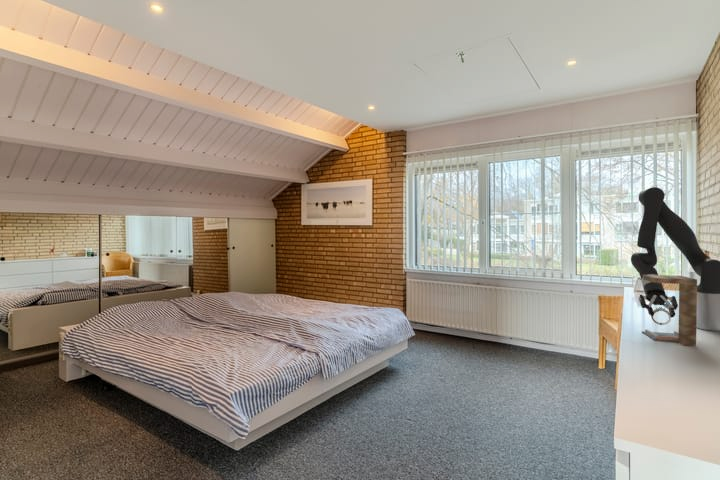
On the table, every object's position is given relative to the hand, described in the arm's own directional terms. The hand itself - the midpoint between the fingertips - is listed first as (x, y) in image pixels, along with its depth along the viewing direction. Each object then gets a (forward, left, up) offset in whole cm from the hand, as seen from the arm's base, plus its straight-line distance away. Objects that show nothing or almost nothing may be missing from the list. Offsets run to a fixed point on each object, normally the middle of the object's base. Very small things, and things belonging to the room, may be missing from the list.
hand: (662, 315), depth 173 cm
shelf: (+1, +9, -9) cm, 12 cm away
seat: (0, +4, -9) cm, 10 cm away
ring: (0, -2, -5) cm, 5 cm away
